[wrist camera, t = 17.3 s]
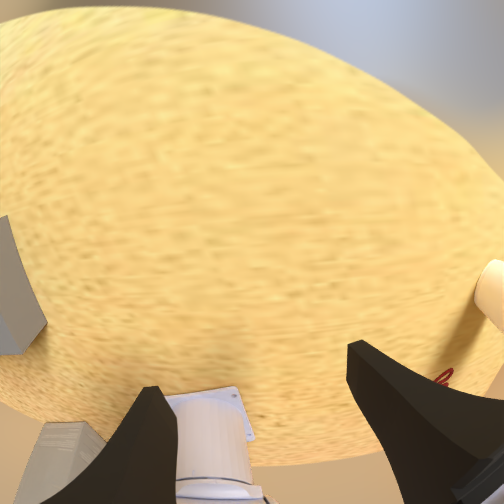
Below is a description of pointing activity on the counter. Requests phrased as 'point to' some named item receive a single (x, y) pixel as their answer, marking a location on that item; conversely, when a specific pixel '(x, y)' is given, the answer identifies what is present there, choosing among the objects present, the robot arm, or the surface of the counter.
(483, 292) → the foam cup
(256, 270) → the counter surface
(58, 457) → the skincare box
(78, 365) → the counter surface
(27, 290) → the grey stemmed block
